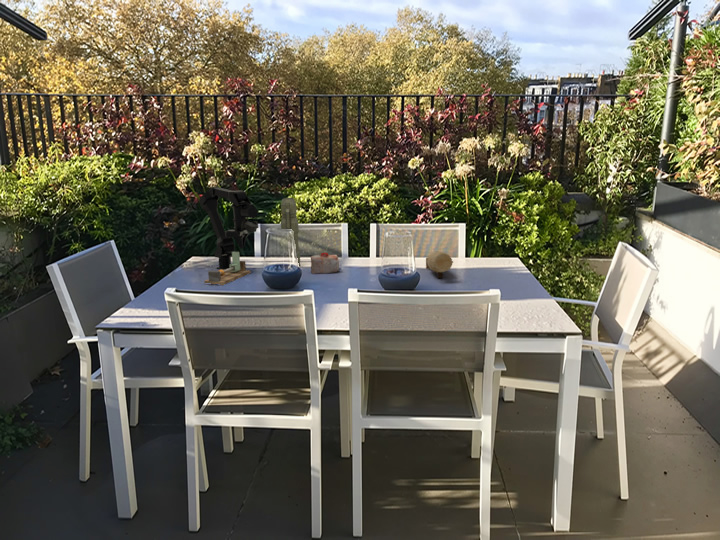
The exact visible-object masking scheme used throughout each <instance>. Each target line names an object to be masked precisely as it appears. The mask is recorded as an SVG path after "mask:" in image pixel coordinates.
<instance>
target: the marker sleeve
mask: <svg viewBox="0 0 720 540" xmlns="http://www.w3.org/2000/svg"><path fill="white" fill-rule="evenodd" d="M240 261H241V259H240V252H239V251H234V252H232V255H231V264H230V268H231V267H233V266H235V269H234V270H231V271H230V272H237V271H239V270H240Z"/></svg>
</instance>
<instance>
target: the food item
mask: <svg viewBox="0 0 720 540" xmlns="http://www.w3.org/2000/svg"><path fill="white" fill-rule="evenodd" d="M339 269H340V259H339V257H338V255H337V254H329V253H328V252H321V253H320V255H319V254H318V255H316V254H315V255H311V256H310V272H311V274H313V275H314V274H332V273H337V272H338V271H339Z"/></svg>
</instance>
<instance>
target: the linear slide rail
mask: <svg viewBox="0 0 720 540" xmlns="http://www.w3.org/2000/svg"><path fill="white" fill-rule="evenodd" d="M246 264H247V263H246V261H245V260H240V270H239V271H237V272H230V271H231V270H234V269H235V266H233V267H231V268H228V269H217V270H209V271H207V273H208V279H205V280H204V284H205V283H211V284H220V285H219V286H225V285H228V284H230V283H232V282H234V281H236V279H237V280H239V279H241V278H244V277H245V275H246V276H248V275H250V274H251V270H249V269H247V266H246ZM247 274H248V275H247ZM238 278H239V279H238ZM231 281H232V282H231ZM229 282H230V283H229ZM227 283H228V284H227ZM211 284H210V285H211ZM224 284H225V285H224Z"/></svg>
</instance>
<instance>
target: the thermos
mask: <svg viewBox="0 0 720 540" xmlns="http://www.w3.org/2000/svg"><path fill="white" fill-rule="evenodd" d="M280 211H281V220H280V230H281V229H292V230H293V231H294V240H295V244H296V251H297V258H298V263H299V266H300V267H301V254H300V253H299V252H300V249H299V229H300V228H299V221H298V217H297V203H296V200H295V198H293V197H284V198H282V200H281V202H280Z"/></svg>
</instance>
